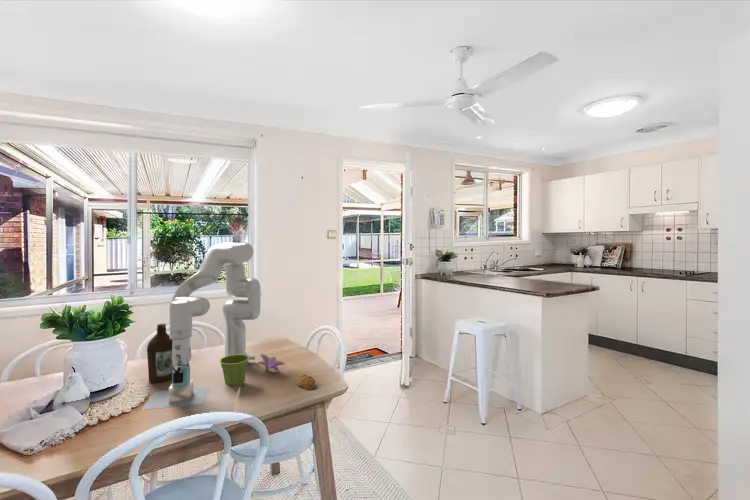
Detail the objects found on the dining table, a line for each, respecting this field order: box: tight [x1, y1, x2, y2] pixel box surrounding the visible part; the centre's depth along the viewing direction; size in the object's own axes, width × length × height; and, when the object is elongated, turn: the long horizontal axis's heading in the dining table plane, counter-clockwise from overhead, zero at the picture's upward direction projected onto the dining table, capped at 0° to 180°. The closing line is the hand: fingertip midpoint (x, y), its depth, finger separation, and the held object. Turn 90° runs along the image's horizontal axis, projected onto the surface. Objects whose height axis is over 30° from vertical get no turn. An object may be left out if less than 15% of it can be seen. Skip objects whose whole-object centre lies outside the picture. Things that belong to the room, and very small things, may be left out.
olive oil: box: [146, 323, 174, 385], centre depth 157 cm, size 11×11×25 cm
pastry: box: [296, 373, 317, 390], centre depth 156 cm, size 9×7×4 cm
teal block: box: [171, 365, 191, 387], centre depth 140 cm, size 5×5×6 cm
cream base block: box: [168, 379, 194, 402], centre depth 140 cm, size 7×7×5 cm
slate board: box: [141, 386, 211, 411], centre depth 140 cm, size 20×16×2 cm
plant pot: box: [219, 354, 250, 387], centre depth 156 cm, size 12×12×11 cm
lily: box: [257, 353, 286, 378], centre depth 168 cm, size 12×12×10 cm
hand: (181, 377), depth 140 cm, fingers open, 9 cm apart
